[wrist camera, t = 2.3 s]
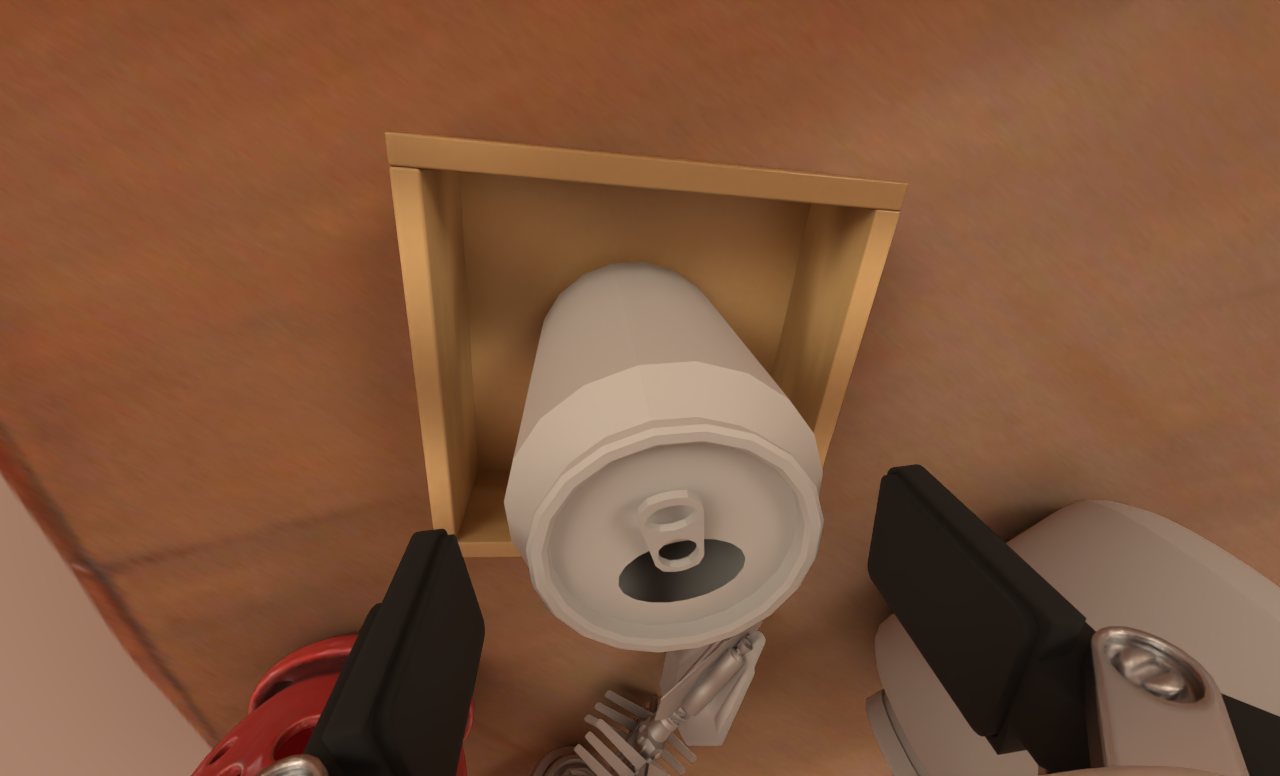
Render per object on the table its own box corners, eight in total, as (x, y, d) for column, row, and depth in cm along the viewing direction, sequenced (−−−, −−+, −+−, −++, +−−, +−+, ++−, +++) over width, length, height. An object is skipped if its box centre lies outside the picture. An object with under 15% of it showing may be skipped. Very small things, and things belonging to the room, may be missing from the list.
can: (565, 438, 22) (550, 708, 12) (516, 278, 19) (430, 453, 8) (725, 403, 22) (856, 640, 12) (705, 238, 19) (864, 359, 8)
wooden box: (436, 134, 17) (382, 131, 12) (832, 174, 19) (910, 182, 14) (464, 479, 23) (435, 558, 19) (758, 482, 25) (796, 554, 21)
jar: (1223, 694, 30) (888, 915, 31) (1022, 493, 36) (745, 684, 37) (1813, 884, 13) (1019, 1368, 14) (1241, 441, 19) (714, 800, 20)
